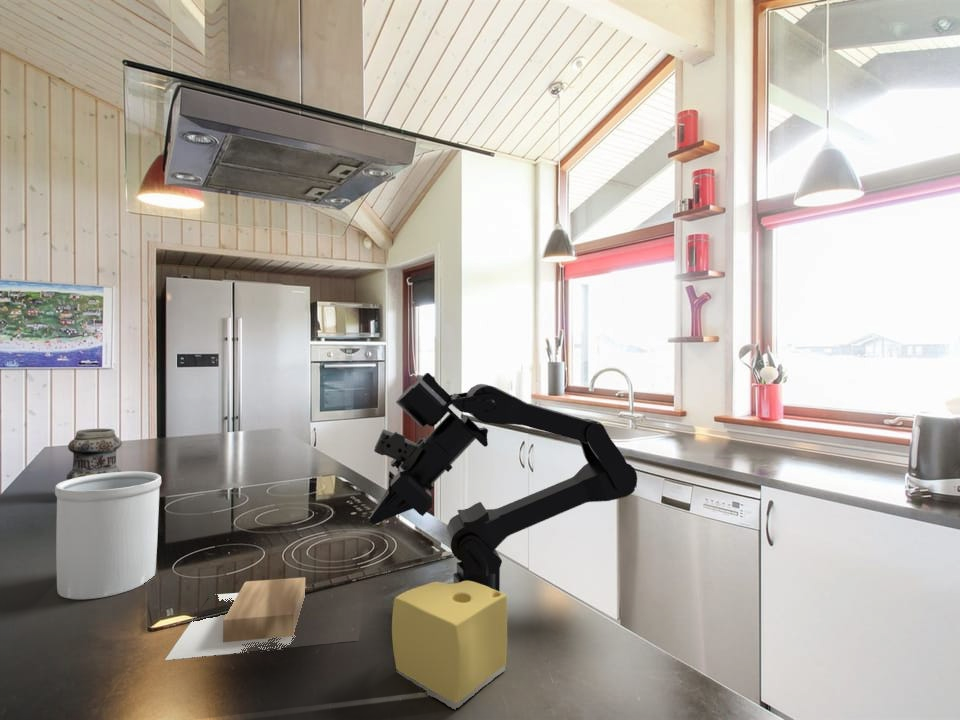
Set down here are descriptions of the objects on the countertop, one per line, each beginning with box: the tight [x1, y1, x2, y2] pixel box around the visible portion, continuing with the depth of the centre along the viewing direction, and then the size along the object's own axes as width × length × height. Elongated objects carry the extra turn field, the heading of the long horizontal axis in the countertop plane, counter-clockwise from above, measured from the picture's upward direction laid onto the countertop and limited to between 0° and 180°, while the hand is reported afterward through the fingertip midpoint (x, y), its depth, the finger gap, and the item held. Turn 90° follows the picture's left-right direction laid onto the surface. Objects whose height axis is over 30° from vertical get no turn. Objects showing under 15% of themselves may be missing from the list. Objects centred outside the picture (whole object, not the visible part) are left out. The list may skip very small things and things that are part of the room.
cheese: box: [391, 581, 508, 703], centre depth 63 cm, size 10×11×10 cm
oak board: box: [223, 576, 306, 642], centre depth 76 cm, size 3×12×9 cm
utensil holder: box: [54, 470, 162, 600], centre depth 88 cm, size 15×15×18 cm
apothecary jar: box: [66, 428, 123, 480], centre depth 141 cm, size 12×12×18 cm
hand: (371, 522), depth 79 cm, fingers closed
